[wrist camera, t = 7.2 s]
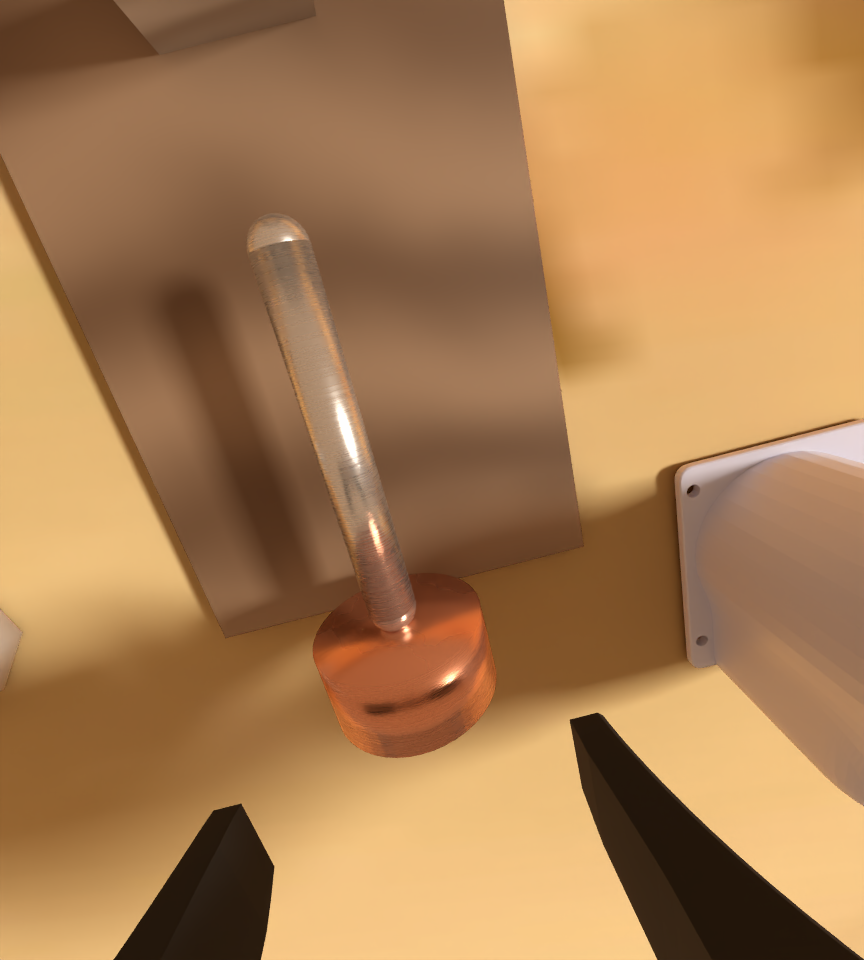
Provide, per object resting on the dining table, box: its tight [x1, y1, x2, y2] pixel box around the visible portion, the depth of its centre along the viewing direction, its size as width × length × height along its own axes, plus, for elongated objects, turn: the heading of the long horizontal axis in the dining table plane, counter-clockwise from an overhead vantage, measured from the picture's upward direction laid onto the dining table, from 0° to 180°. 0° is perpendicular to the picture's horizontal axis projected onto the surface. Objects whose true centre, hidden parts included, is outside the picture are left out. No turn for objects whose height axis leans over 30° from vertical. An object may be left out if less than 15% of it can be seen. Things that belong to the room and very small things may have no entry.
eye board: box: [0, 0, 584, 638], centre depth 12 cm, size 22×14×7 cm, turn 14°
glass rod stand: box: [246, 213, 496, 758], centre depth 12 cm, size 13×5×5 cm, turn 14°
